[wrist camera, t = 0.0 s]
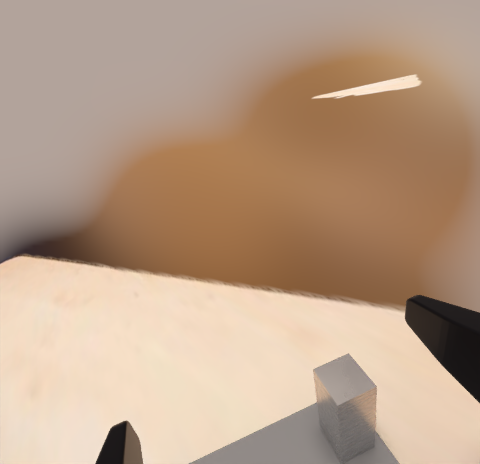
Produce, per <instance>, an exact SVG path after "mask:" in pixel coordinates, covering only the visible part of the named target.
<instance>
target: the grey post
mask: <svg viewBox="0 0 480 464" xmlns="http://www.w3.org/2000/svg"><path fill="white" fill-rule="evenodd" d="M313 372H314V380H315V389H316V397H317V406H318V414H319V422H320V428H321V430H322V432H323V433H324V435H325V437H326V439H327V440H328V442H329V444H330V446H331V447H332V449H333V451H334V452H335V454H336V456H337V458H338V459H339V461H340V463H341V464H344V463H346V462H348V461H350V460H352V459H354V458H355V457H357V456H359V455H361V454H363V453H365V452H367V451H368V450H370V449H372V448H374V447H375V431H376V395H377V386H376V385H375V384H374V383H373V382H372V380H371V379H370V378H369V377H368V376H367V375H366V373H365V372H364V371H363V370H362V369H361V367H360V366H359V365H358V364H357V363H356V362H355V360H354V359H353V358H352V357H351V356H350V354H349V353H348V354H346V355H344V356H342V357H340V358H337V359H335V360H333V361H331V362H329V363H326V364H324V365H322V366H320V367H317V368H315V369H313Z"/></svg>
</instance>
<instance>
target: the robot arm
mask: <svg viewBox="0 0 480 464" xmlns="http://www.w3.org/2000/svg"><path fill="white" fill-rule="evenodd" d="M405 320H406V322H407V324H408V325H409V327H410V328H411V329H412V330H413V331H414V333H415V334H416V335H417V336H418V337H419V339H420V340H421V341H422V342H423V343H424V345H425V346H426V347H427V348H428V349H429V351H430V352H431V353H432V354H433V355H434V356H435V358H436V359H437V360H438V361H439V362H440V363H441V364H442V366H443V367H444V368H445V369H446V370H447V371H448V372H449V373H450V374H451V375H452V376H453V377H454V378H455V379H456V380H457V381H458V382H459V383H460V384H461V385H462V386H463V387H464V388H465V389H466V390H467V391H468V392H469V393H470V394H471V395H472V396H473V397H474V398H475V399H476V400H477V401H478V402H479V403H480V313H479V312H475V311H472V310H469V309H466V308H462V307H459V306H456V305H452V304H449V303H446V302H442V301H439V300H435V299H432V298H429V297H425V296H422V295H416V296H414V297H411V298H409V299H408V300H407V301H406V310H405ZM95 464H143V459H142V452H141V445H140V441H139V438H138V436H137V434H136V432H135V431H134V429H133V428H132V426H131V424H130V423H129V422H128V421H123V422H121V423H119V424H116V425H114V426H113V427H112V428H111V429H110V431H109V433H108V435H107V438H106V440H105V442H104V445H103V447H102V449H101V452H100V454H99V456H98V459H97V461H96V463H95Z"/></svg>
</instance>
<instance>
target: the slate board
mask: <svg viewBox="0 0 480 464" xmlns="http://www.w3.org/2000/svg"><path fill="white" fill-rule="evenodd" d="M189 464H341V463H340V461H339V459H338V458H337V456H336V454H335V452H334V451H333V449H332V447H331V446H330V444H329V442H328V440H327V439H326V437H325V435H324V433H323V432H322V430H321V428H320V422H319V414H318V406H317V403H315V404H313V405H311V406H309V407H307V408H305V409H302V410H300V411H298V412H296V413H294V414H292V415H290V416H288V417H286V418H284V419H281V420H279V421H277V422H275V423H273V424H271V425H269V426H267V427H265V428H263V429H261V430H258V431H256V432H254V433H252V434H250V435H248V436H246V437H244V438H242V439H240V440H238V441H235V442H233V443H231V444H229V445H227V446H225V447H223V448H221V449H219V450H217V451H215V452H212V453H210V454H208V455H206V456H204V457H202V458H200V459H198V460H196V461H194V462H192V463H189ZM344 464H399V462H398V461H397V460H396V458H395V457H394V456H393V454H392V453H391V452H390V450H389V449H388V447H387V446H386V445H385V443H384V442H383V441H382V439H381V438H380V437H379V435H378V434H377V432H376V431H375V447H374V448H372V449H370V450H368V451H367V452H365V453H363V454H361V455H359V456H357V457H355V458H354V459H352V460H350V461H348V462H346V463H344Z"/></svg>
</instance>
